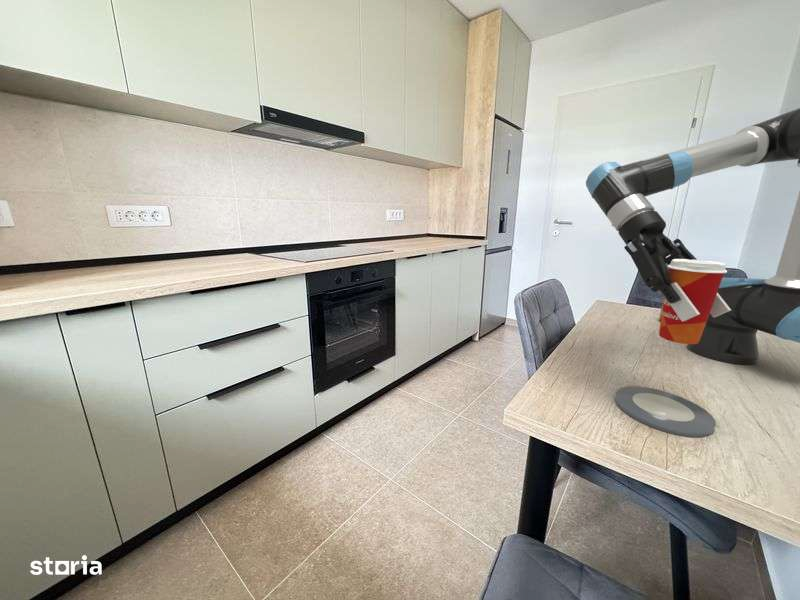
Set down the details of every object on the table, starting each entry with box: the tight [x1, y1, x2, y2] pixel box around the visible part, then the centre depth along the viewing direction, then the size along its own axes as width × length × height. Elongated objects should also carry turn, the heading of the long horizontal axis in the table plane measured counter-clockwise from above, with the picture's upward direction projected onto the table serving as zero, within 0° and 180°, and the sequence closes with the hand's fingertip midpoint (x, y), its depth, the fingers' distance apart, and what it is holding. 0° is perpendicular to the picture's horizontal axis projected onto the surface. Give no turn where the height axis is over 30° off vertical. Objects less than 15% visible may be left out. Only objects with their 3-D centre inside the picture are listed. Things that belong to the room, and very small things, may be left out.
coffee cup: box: [658, 259, 728, 345], centre depth 60 cm, size 8×8×15 cm
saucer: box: [614, 385, 717, 438], centre depth 66 cm, size 16×16×1 cm
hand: (706, 315), depth 58 cm, fingers closed on coffee cup, 8 cm apart
